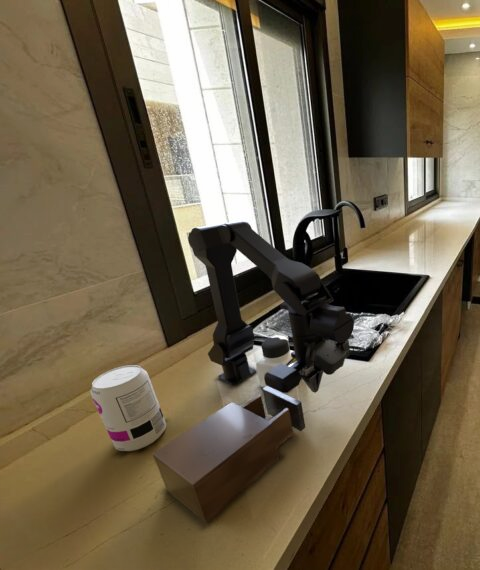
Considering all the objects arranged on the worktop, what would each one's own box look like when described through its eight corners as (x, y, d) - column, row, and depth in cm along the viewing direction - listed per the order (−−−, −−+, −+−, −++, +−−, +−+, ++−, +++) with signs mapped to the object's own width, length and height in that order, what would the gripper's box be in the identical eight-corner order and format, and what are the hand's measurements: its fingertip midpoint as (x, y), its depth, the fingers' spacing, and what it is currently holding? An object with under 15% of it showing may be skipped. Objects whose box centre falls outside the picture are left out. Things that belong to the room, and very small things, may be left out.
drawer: (276, 407, 73) (271, 382, 71) (310, 423, 69) (306, 397, 66) (215, 452, 62) (207, 424, 60) (251, 475, 58) (243, 446, 55)
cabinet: (240, 435, 67) (232, 401, 64) (279, 458, 62) (272, 423, 59) (166, 490, 56) (152, 453, 53) (206, 523, 51) (192, 484, 48)
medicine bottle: (286, 391, 80) (278, 349, 75) (260, 387, 81) (251, 345, 77) (302, 374, 86) (295, 334, 82) (277, 370, 88) (270, 331, 83)
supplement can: (109, 460, 61) (79, 396, 56) (122, 429, 68) (97, 370, 63) (162, 444, 65) (139, 382, 59) (170, 416, 72) (149, 359, 66)
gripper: (298, 364, 56) (309, 434, 61) (365, 320, 71) (369, 379, 77) (256, 347, 61) (269, 413, 66) (327, 309, 76) (333, 365, 82)
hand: (315, 391), depth 73 cm, fingers closed
